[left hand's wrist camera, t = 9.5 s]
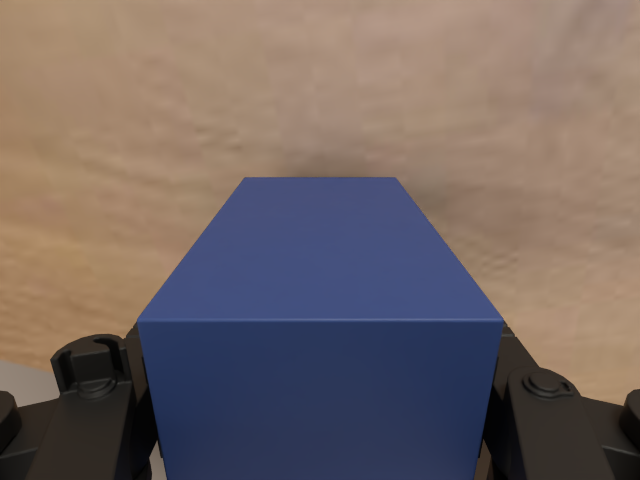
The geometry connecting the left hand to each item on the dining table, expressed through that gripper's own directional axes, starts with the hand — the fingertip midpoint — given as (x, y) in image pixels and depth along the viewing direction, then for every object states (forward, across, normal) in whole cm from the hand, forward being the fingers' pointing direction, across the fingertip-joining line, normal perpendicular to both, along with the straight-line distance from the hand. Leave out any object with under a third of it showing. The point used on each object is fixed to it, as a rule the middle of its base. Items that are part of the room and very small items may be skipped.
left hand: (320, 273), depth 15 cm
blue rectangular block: (+2, 0, 0) cm, 2 cm away
